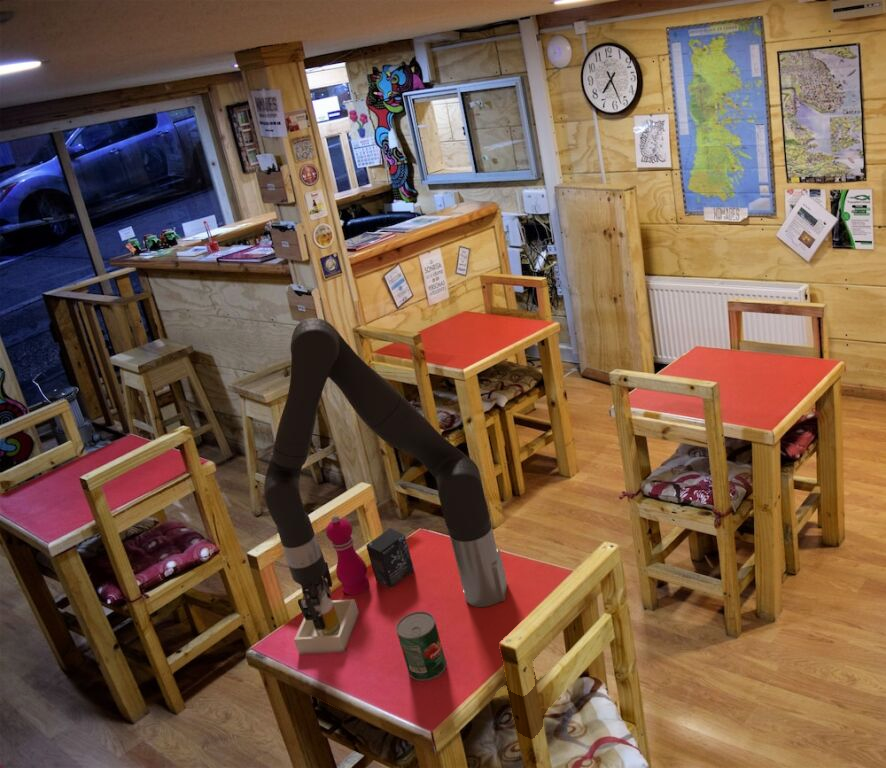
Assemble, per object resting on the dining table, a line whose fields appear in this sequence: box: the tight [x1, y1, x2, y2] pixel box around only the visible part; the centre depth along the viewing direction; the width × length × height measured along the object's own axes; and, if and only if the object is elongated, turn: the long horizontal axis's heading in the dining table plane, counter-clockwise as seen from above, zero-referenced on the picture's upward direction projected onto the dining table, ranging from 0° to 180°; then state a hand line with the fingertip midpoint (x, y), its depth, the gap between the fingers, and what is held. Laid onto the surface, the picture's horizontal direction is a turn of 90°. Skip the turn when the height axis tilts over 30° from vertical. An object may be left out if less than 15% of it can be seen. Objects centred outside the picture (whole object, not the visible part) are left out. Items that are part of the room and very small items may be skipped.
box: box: [365, 528, 415, 589], centre depth 207 cm, size 8×6×11 cm
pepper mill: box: [325, 514, 370, 596], centre depth 205 cm, size 7×7×20 cm
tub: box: [293, 598, 360, 655], centre depth 194 cm, size 10×12×4 cm
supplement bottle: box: [311, 590, 340, 636], centre depth 193 cm, size 5×5×10 cm
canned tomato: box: [395, 610, 447, 682], centre depth 176 cm, size 8×8×11 cm
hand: (325, 618), depth 193 cm, fingers open, 5 cm apart
